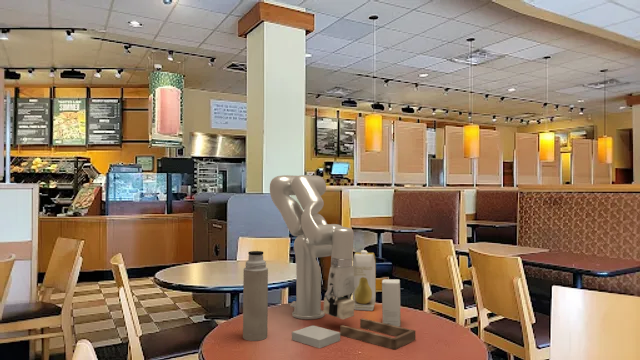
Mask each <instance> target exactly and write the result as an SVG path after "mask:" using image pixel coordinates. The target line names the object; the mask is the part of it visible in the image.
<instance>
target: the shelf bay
mask: <svg viewBox="0 0 640 360" xmlns="http://www.w3.org/2000/svg"><path fill="white" fill-rule="evenodd" d="M359 324H360V325H359V328H355V327H351V326H347V325H344V324H343V325H340V326H339V327H340V329H339V331H340V336H342V337H347V338H351V339H353V340H357V341H360V340H362V341H361V342H364V341H365V343H368V344H372V345H377V346H380V347H383V348H385V349H386V348H387V349H390V350H391V349H392V350H397V349H399V348H401V347H403V346H406V345H407V344H410V343H412V342H415V341H416V330H414V329H410V328H407V327H402V326H400V327H398V326H393V325H389V324H385V323H383V322H380V321H375V320H371V319H367V318H360V319H359ZM368 329H369V331H367V330H368ZM371 331H372V332H371ZM375 332H377V333H375ZM379 333H380V334H379ZM383 334H385V335H383ZM388 335H389V336H388ZM391 336H392V337H391Z"/></svg>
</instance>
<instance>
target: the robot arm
mask: <svg viewBox="0 0 640 360" xmlns="http://www.w3.org/2000/svg"><path fill="white" fill-rule="evenodd" d="M326 190H327V183H326V181H325V179H324V178H323V177H322V176H321V175H309V174H303V175H302V174H301V175H290V174H289V175H288V174H287V175H285V174H284V175H278V176H275V177H273V178H272V179H271V180H270V183H269V195H270V198H271V200H272V202H273V204H274V206H275V207H276V208H277V210H278V212H280V214H281V217H282V219H283V221H284V224H285V225H286V228H287V229H288V231H289V232H290V234H291V236H293V237H296V238H295V240H294V242H293V250H294V255H295V265H296V266H295V267H296V269H295V270H296V273H295V275H296V295H295V296H296V298H295V299H296V300H293V301H292V303H290V307H292V308H293V309H294V310H293V311H292V313H291V315H292V317H294V318H296V319H299V320H316V319H322V318H323V317H325V315H326V314H325V313H323V312H324V309H323V310H322V307H321V306H322V303H321V301H322V293H321V292H322V287H321V286H322V276H321V274H322V271H321V266H320V264H319V262H318V261H317V258H325V257H330V258H331V259H330V267H329V273H328V277H327V279H328V280H327V290H326V292H325V293H324V298H325V297H326V298H327V300H328V303H329V314H330V315H329V316H331V315H333V316H332V317H334V316H337V304H336V303H337V300H338V297H346V298H348V299H352V297H353V292H354V289H355V287H354V269H353V257H354V253H353V252H354V238H355V236H354V234H355V233H354V229H352V228H351V227H347V226H342V225H341V224H338V223H337V224H336V223H331V224H330V223H329V224H328V223H327V220H326V219H325V217H324V216H323V215H321V214H319V212H320V211H322V210H323V207H324V203H325V202H324V199H323V198H322V196H323V195H324V194H325V193H326V192H327V191H326ZM292 196H295V197H296V199H297V200H296V199H294V198H293V197H292ZM333 297H335V298H334V299H333Z"/></svg>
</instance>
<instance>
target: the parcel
mask: <svg viewBox="0 0 640 360" xmlns="http://www.w3.org/2000/svg"><path fill="white" fill-rule="evenodd" d="M334 298H335V297H333V299H334ZM354 302H355V300H353V298H351V299H348V298H346V297H343V296H342V297H338V300H337V303H336V304H337V316H333V315H330V314H329V303H328V300H327V298H326V297H325V296H324V298H323V311H324V312H323V313H325V315H328V316H332V317H334V318H337V319H341V320H345V319H348V318H351V317H354V316H355V309H354Z"/></svg>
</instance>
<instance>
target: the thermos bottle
mask: <svg viewBox="0 0 640 360" xmlns="http://www.w3.org/2000/svg"><path fill="white" fill-rule="evenodd" d="M247 252H248V259H247V260H246V261H245V267H244V268H243V283H242V284H243V292H242V293H243V295H242V296H243V299H242V300H243V301H242V302H243V303H242V307H243V308H242V338H243V339H244V340H245V341H250V342H252V341H253V342H254V341H255V342H256V341H257V342H258V341H262V340H265V339H266V338H268V331H269V330H268V316H269V315H268V310H269V309H268V304H269V303H268V302H269V299H268V294H269V293H268V292H269V285H268V284H269V276H268V275H269V268H268V267H266V266H267V263H266V261H265V260H264V251H261V250H252V251H247Z"/></svg>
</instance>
